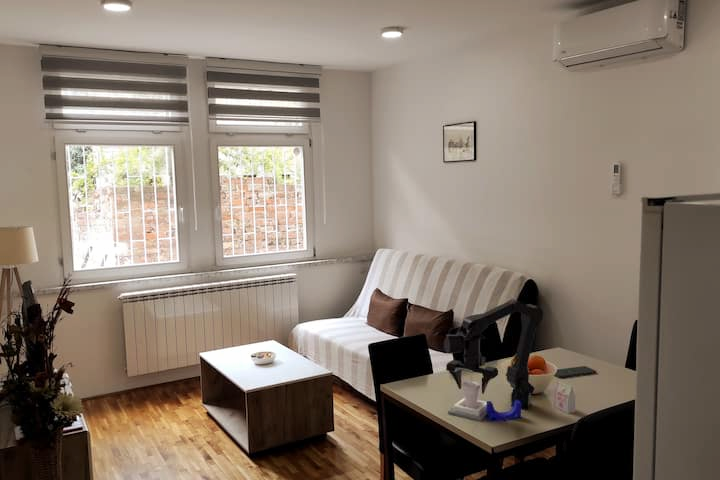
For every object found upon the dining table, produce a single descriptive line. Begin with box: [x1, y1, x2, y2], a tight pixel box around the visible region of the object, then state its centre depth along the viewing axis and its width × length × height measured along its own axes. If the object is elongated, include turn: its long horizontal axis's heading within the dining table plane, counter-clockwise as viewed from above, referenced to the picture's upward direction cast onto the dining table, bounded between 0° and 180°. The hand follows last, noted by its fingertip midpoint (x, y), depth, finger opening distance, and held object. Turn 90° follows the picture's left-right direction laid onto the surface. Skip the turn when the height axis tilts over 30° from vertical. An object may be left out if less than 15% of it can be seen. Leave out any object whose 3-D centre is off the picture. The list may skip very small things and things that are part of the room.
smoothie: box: [462, 371, 481, 409], centre depth 224 cm, size 6×6×14 cm
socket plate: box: [447, 396, 495, 422], centre depth 224 cm, size 13×13×3 cm
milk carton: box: [553, 381, 576, 414], centre depth 225 cm, size 4×7×10 cm, turn 26°
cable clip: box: [485, 400, 522, 422], centre depth 218 cm, size 12×4×6 cm, turn 94°
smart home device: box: [554, 365, 597, 379], centre depth 267 cm, size 8×2×20 cm
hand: (471, 391), depth 223 cm, fingers open, 9 cm apart
